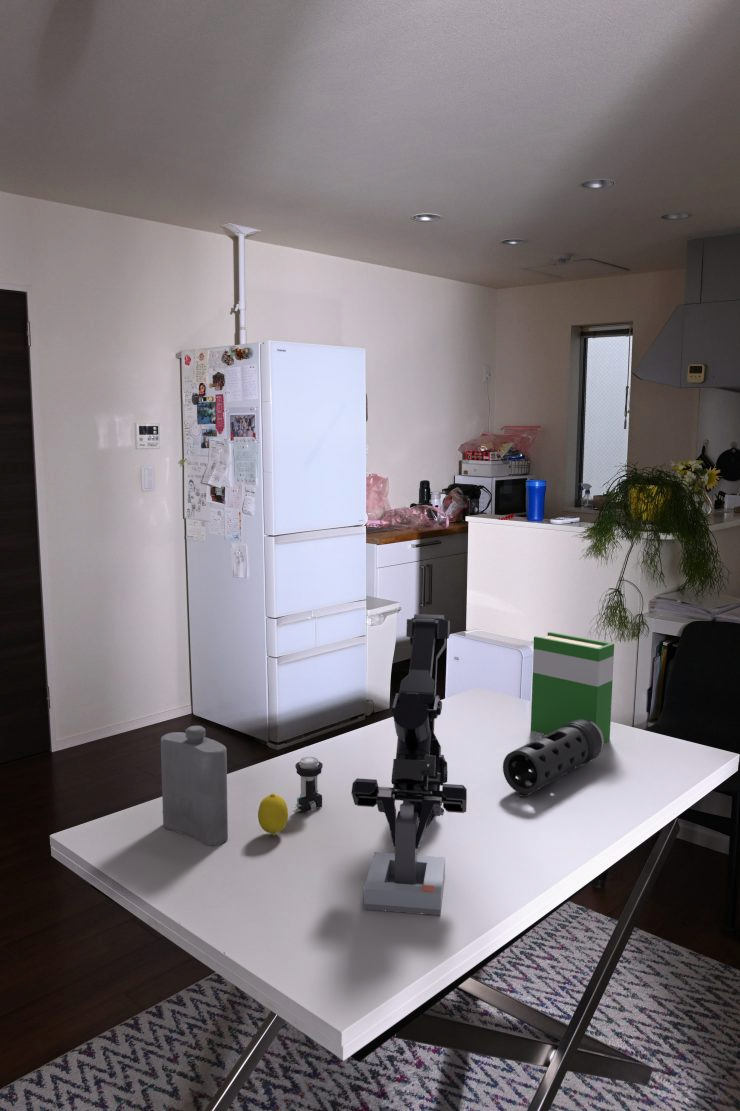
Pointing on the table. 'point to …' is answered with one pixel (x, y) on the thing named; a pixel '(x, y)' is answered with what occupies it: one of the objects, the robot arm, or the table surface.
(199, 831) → the flask
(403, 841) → the plug
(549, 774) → the muzzle brake
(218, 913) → the table surface
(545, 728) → the hardback book
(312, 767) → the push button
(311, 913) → the table surface
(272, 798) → the lemon
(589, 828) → the table surface
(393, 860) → the socket box
